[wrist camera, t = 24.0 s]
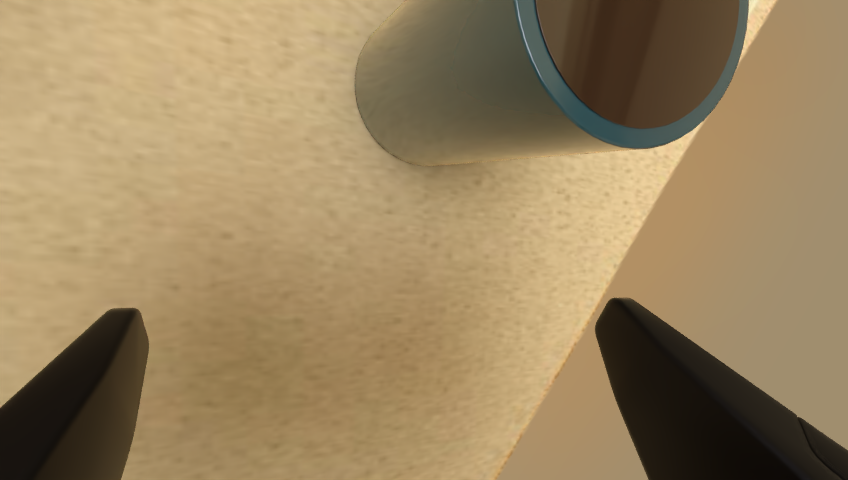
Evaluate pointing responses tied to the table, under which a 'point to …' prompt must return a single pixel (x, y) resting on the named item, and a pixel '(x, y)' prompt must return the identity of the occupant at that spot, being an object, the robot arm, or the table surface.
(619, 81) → the mug
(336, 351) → the table surface
